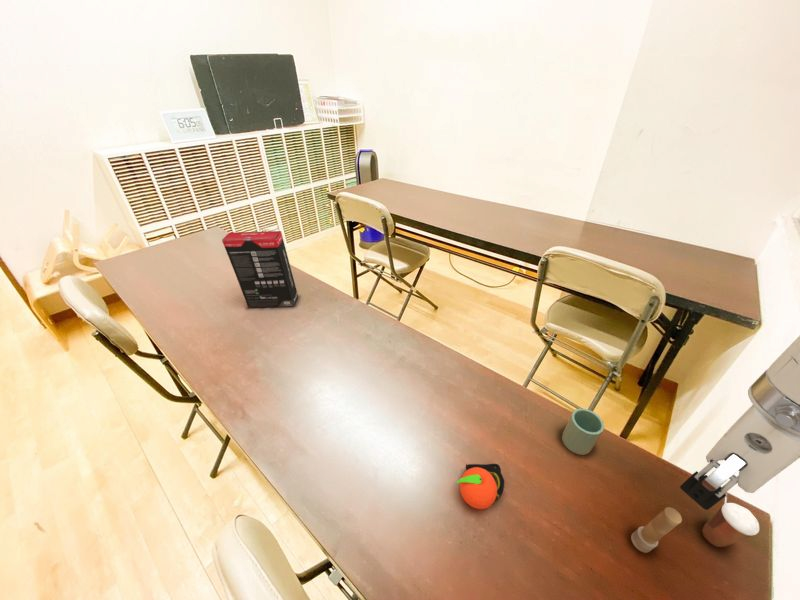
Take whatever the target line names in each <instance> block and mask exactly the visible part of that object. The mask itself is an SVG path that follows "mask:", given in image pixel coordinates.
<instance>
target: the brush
mask: <svg viewBox="0 0 800 600" xmlns="http://www.w3.org/2000/svg"><path fill="white" fill-rule="evenodd" d="M682 521H683V517H682V515H681V514H680V512H679V511H677V509H675V508H673V507H670V506H667V507H665V508H663V510H661V512H659V513H658V514H657V515H656V516H655V517H653V519H652V520H651V521H650V522H648V523H647V524H646V525H645V526H643V525H641V526H639V527H638V528H637V529H635V531H633V532H632V533H631V535H630V539H631V542H632V545H633V546H634V548H636V549H637V550H638V551H640V552H641V553H645V554H647V553H650V552H651V551H652V550H654V549H655V548H657V547H658V545H659V541H660V540H661V539H662V538H663V537H665V536H666V535H667V534H668V533H670V532H671V531H672V530H673V529H674V528H676V527H677V526H678V525H680V524H681V523H682Z"/></svg>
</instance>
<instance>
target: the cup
mask: <svg viewBox="0 0 800 600" xmlns="http://www.w3.org/2000/svg"><path fill="white" fill-rule="evenodd" d="M604 429H605V425H604V421H603V419H602V418H601V417H600V416H599V415H598V414H597V413H596V412H594V411H592V410H590V409H587V408H577V409H575V410H573V411H572V413H571V415H570V418H569V420H568V421H567V423H566V426H565V428H564V430H563V432H562V434H561V441H562V443H563V445H564V446H565V448H567V450H569V451H570V452H571V453H574V454H576V455H583V456H584V455H588V454H589V453H591V451H592V450H593V448H594V447H595V445H596V443H597V442H598V440H599V438H600V437H601V435H602V434H603V432H604Z"/></svg>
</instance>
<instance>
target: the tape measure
mask: <svg viewBox="0 0 800 600" xmlns="http://www.w3.org/2000/svg"><path fill="white" fill-rule="evenodd" d="M474 467H479V468H483V469H485V470H486V471H488V472H489V473H490V474H491V475H492V476H493V478H494V480H495V482H496V485H497V496H496V499H495V501H494V502H497V501H498V500H500V498H501V497H502V494H503V493H504V489H505V478H504V476H503V474H502V469H501V466H500V465H499V464H498V463H487V464H486V463H485V464H484V463H483V464H481V463H466V464H465V472H466V471H467V470H468V469H471V468H474Z"/></svg>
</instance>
